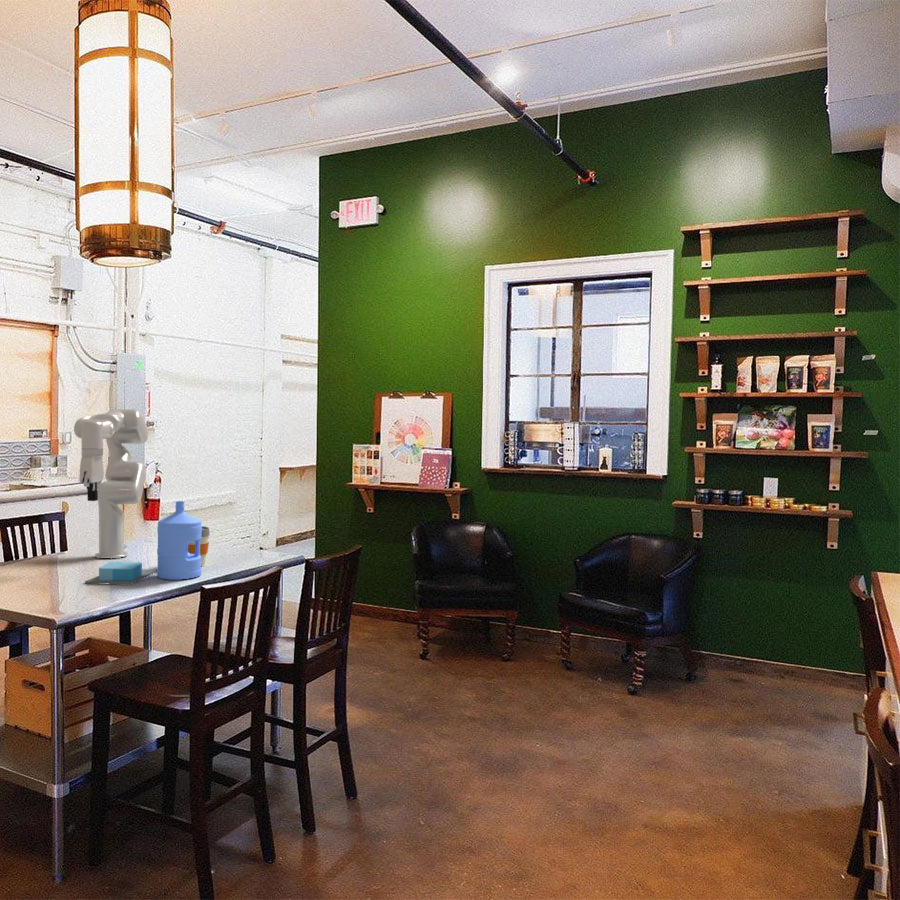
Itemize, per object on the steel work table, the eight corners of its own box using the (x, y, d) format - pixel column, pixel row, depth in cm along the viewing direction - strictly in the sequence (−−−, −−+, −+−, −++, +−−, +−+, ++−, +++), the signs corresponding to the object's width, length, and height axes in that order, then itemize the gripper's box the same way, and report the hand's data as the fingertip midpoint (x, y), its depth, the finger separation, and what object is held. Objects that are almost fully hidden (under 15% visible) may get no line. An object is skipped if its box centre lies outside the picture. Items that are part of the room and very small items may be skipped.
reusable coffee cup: (203, 569, 299) (203, 531, 299) (171, 568, 300) (171, 530, 299) (213, 563, 312) (214, 526, 311) (183, 562, 312) (183, 525, 311)
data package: (109, 573, 283) (97, 580, 271) (109, 561, 283) (97, 568, 271) (143, 574, 284) (132, 581, 272) (143, 562, 284) (132, 568, 272)
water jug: (154, 581, 276) (155, 504, 275) (159, 572, 291) (159, 499, 290) (200, 580, 280) (201, 504, 279) (202, 571, 295) (203, 499, 294)
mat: (116, 570, 292) (116, 568, 292) (156, 572, 291) (156, 570, 291) (85, 583, 270) (84, 581, 270) (128, 585, 269) (128, 582, 269)
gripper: (92, 451, 300) (93, 497, 301) (72, 454, 285) (72, 503, 286) (111, 452, 299) (111, 498, 301) (91, 454, 285) (92, 503, 286)
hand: (92, 500), depth 293 cm, fingers closed
